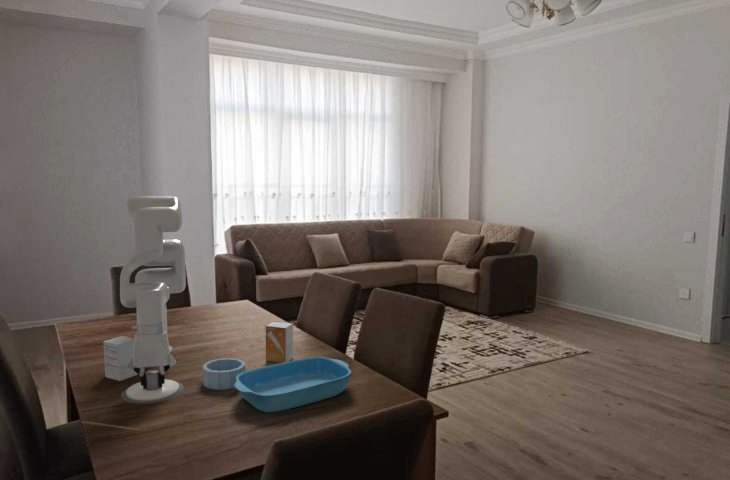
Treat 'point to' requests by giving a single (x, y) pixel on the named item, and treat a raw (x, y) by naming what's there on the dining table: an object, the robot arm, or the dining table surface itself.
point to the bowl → (222, 373)
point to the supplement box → (118, 358)
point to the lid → (152, 388)
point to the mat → (154, 400)
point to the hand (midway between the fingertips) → (152, 386)
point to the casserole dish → (293, 383)
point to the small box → (279, 342)
